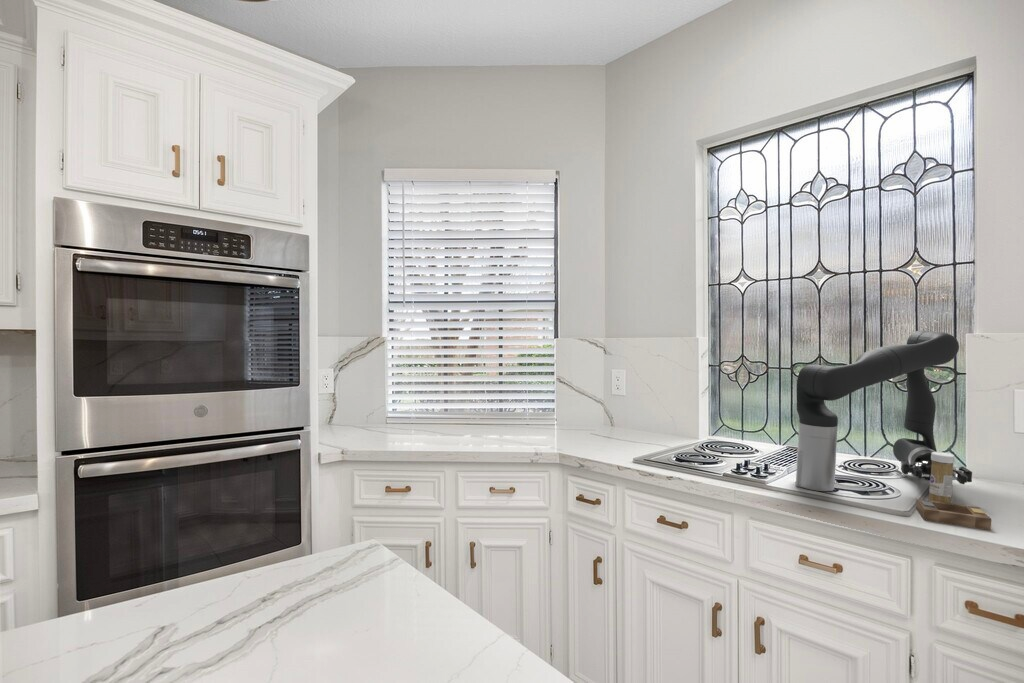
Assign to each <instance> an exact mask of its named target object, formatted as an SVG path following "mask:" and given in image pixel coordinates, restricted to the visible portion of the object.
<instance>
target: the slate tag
mask: <svg viewBox="0 0 1024 683" xmlns="http://www.w3.org/2000/svg"><path fill="white" fill-rule="evenodd" d="M921 503H922V504H923V505H924V506H928V507H935V506H934V505H933V503H932V502H926V501H921Z"/></svg>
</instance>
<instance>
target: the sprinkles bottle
mask: <svg viewBox="0 0 1024 683" xmlns="http://www.w3.org/2000/svg"><path fill="white" fill-rule="evenodd" d="M931 461H932V465H931V476H930V481H929V488H928V489H929V490H928V491H929V494H928V495H929V496H928V500H931V501H938V502H945V503H952V496H953V495H952V494H953V481H954V480H953V467H954V463H955V455H954V454H953V453H949V452H943V451H937V452H932V453H931Z"/></svg>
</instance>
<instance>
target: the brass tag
mask: <svg viewBox="0 0 1024 683" xmlns="http://www.w3.org/2000/svg"><path fill="white" fill-rule="evenodd" d="M970 510H971V511H972V512H973V513H977V514H984V515H985V513H986V512H985V511H984V510H983V509H981V508H980V509H975V508H970ZM982 510H983V511H984V512H985V513H984V512H983V511H982Z"/></svg>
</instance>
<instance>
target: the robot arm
mask: <svg viewBox="0 0 1024 683" xmlns="http://www.w3.org/2000/svg"><path fill="white" fill-rule="evenodd" d="M959 350H960V345H959V341H958V339H957V338H956V337H955V336H954V335H952V334H950V333H948V332H947V333H946V332H942V331H931V330H930V331H929V330H928V331H927V330H916V331H914V332H911V333H910V335H909V336H908V338H907V340H906V344H892V345H884V346H880V347H875V348H873V349H870V350H867V351H864V352H863V353H861V354H860V355H859V356H858V357H857V358H856V360H855V361H854V362H853V363H850V364H846V365H839V366H837V365H836V366H833V365H832V366H831V365H824V364H823V365H822V364H807V365H805V366H803V367H802V368H800V370H799V372H798V375H797V378H796V387H795V388H796V412H797V415H798V438H797V440H798V441H797V453H796V454H797V455H796V468H795V469H796V470H795V471H796V473H795V487H800V488H803V489H806V490H810V491H819V492H832V491H834V490H835V483H836V478H835V477H836V463H837V462H836V460H837V446H838V444H837V443H838V430H839V429H838V427H839V426H838V424H839V423H838V422H839V418H838V415H837V414H835V413H834V412H833V411H831V410H830V409H829V408H828V406H827V405H826V403H825V401H827V402H828V401H832V402H833V401H837V400H839V399H842V398H845V397H846V396H849V395H850V394H852V393H854V392H856V391H858V390H860V389H863V388H866V387H870V386H873V385H876V384H879V383H882V382H886V381H889V380H892V379H895V378H897V377H900V376H903V375H906V384H907V396H906V397H907V400H906V407H905V414H904V421H903V422H904V423H903V424H904V425H903V426H904V428H905V430H907V431H909V432H913V433H916V434H918V435H920V436H921V437H922V440H921V439H914V438H907V437H906V438H905V437H902V438H898V439H897V440H896V441H894V443H893V445H892V452H893V455H894V457H895V459H896V460H898V462H900V470H901V472H902V474H903V475H909V474H911V476H914V477H916V478H917V479H921V480H922V479H923V480H925V481H929V482H930V476H931V465H932V461H931V453H932V452H938V451H937V446H936V443H935V437H934V425H935V416H936V410H937V407H936V401H935V398H934V395H933V393H932V391H931V389H930V386H929V384H928V382H927V378H926V375H925V368H929V367H936V366H941V365H944V364H947V363H949V362H951V361H952V360H954V359H955V358H956V356H957V354H958V352H959ZM972 479H973V471H971V470H970V469H969V468H967V467H964V466H959V467H958V469H957V467H956V466H953V481H957V483H958V484H960V485H965V484H967V483H972V481H973V480H972Z"/></svg>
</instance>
